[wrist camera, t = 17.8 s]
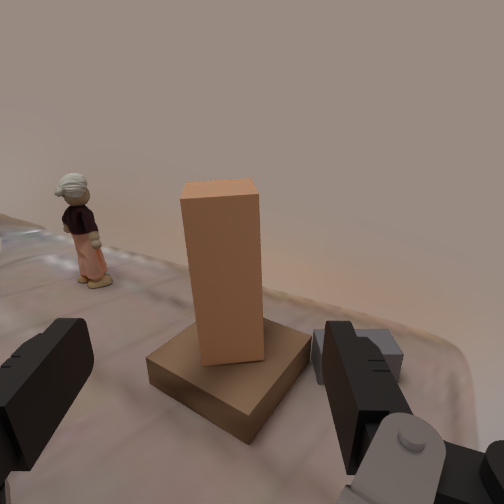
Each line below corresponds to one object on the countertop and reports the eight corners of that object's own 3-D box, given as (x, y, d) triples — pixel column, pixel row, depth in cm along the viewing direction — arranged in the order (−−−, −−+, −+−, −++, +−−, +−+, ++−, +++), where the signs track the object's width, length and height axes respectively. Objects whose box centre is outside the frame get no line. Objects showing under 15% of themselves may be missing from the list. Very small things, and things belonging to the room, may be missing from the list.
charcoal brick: (310, 358, 28) (313, 329, 27) (381, 358, 28) (387, 328, 27) (318, 386, 25) (321, 354, 24) (396, 385, 25) (403, 354, 24)
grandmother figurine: (128, 280, 40) (111, 173, 35) (101, 294, 37) (78, 180, 32) (86, 266, 43) (65, 167, 38) (58, 278, 40) (31, 172, 35)
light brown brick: (202, 366, 23) (179, 198, 18) (203, 328, 27) (186, 182, 22) (264, 359, 24) (258, 193, 19) (257, 323, 28) (250, 178, 23)
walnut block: (150, 388, 25) (145, 357, 24) (223, 329, 32) (222, 302, 31) (248, 450, 21) (248, 415, 20) (309, 365, 28) (311, 336, 26)
